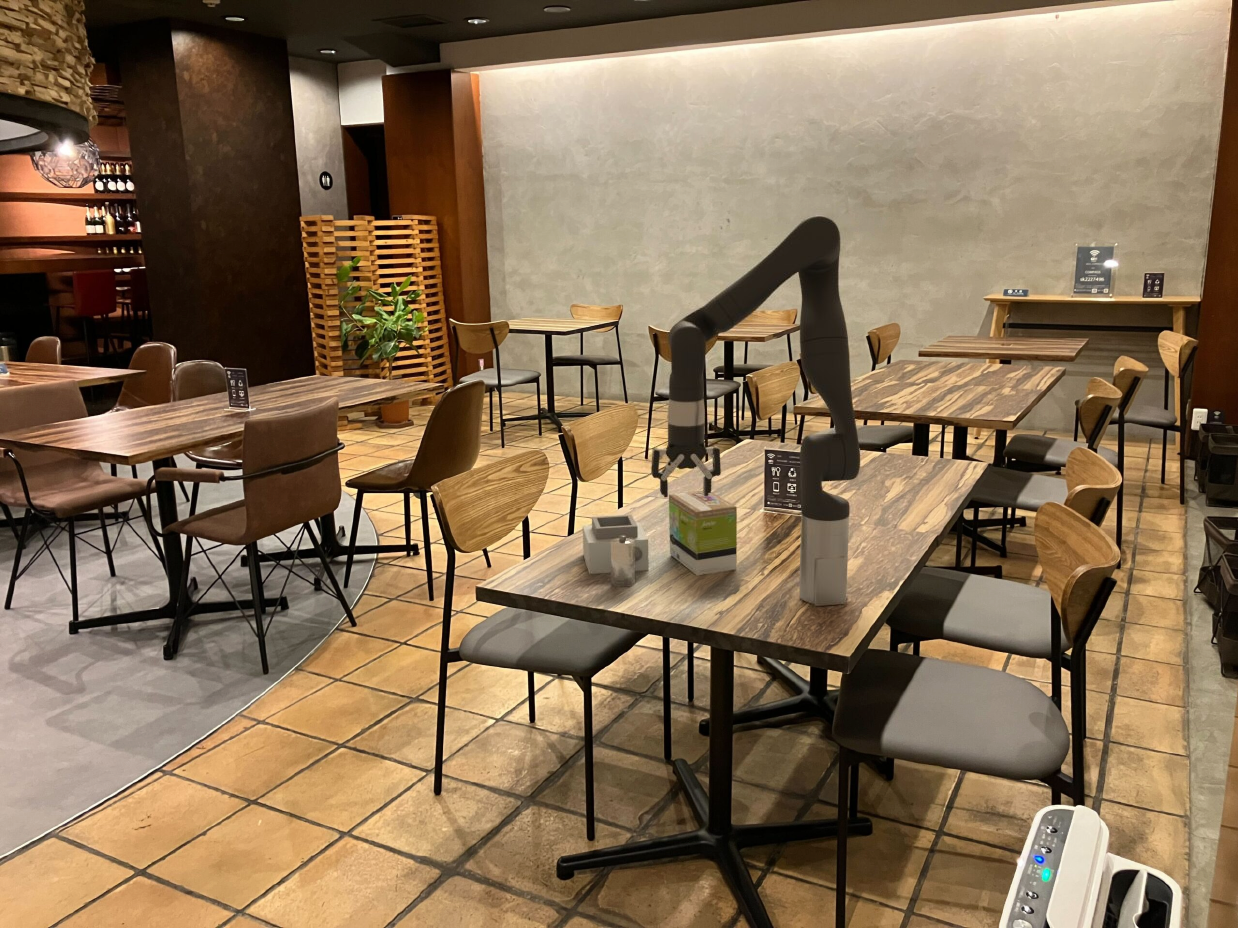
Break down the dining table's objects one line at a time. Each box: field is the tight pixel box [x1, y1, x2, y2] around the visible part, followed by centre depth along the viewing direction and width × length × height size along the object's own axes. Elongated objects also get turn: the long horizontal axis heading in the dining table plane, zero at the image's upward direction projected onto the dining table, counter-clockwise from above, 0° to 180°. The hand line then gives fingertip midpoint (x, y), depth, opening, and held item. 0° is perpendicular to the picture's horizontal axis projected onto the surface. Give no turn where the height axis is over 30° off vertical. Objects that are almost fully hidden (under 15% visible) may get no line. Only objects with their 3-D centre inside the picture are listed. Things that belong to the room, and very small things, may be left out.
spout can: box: [610, 535, 636, 587], centre depth 204 cm, size 5×5×10 cm
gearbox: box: [582, 514, 650, 575], centre depth 216 cm, size 14×13×10 cm
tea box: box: [668, 489, 738, 576], centre depth 214 cm, size 15×10×15 cm, turn 21°
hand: (685, 495), depth 204 cm, fingers open, 8 cm apart
